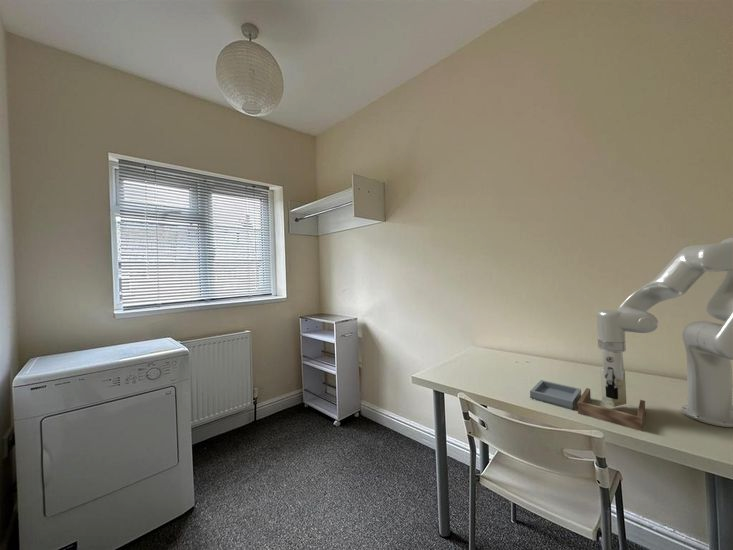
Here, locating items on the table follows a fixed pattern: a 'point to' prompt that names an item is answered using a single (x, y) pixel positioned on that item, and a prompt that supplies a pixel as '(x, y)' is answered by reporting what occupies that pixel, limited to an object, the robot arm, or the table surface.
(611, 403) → the skincare box
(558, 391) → the tray
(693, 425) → the table surface
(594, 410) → the frame
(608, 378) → the robot arm
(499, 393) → the table surface
